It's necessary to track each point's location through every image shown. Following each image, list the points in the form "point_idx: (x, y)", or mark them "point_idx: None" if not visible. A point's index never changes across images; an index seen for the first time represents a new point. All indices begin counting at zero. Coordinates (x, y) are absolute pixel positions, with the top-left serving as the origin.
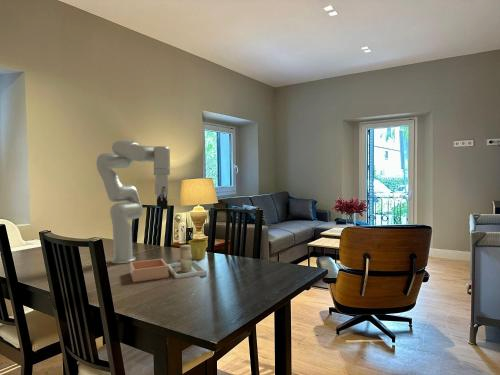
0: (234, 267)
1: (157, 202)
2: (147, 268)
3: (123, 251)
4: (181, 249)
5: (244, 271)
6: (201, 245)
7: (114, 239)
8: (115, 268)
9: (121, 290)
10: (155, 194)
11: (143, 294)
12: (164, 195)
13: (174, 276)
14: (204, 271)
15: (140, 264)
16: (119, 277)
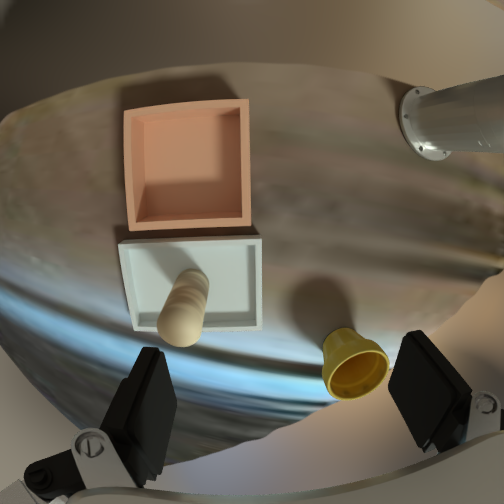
0: (195, 395)
1: (428, 366)
2: (125, 158)
3: (428, 112)
4: (168, 305)
5: None
6: (323, 378)
7: (466, 83)
8: (352, 80)
9: (105, 92)
10: (425, 475)
11: (57, 150)
12: (18, 485)
13: (140, 240)
14: (133, 324)
15: (240, 138)
16: (235, 78)
